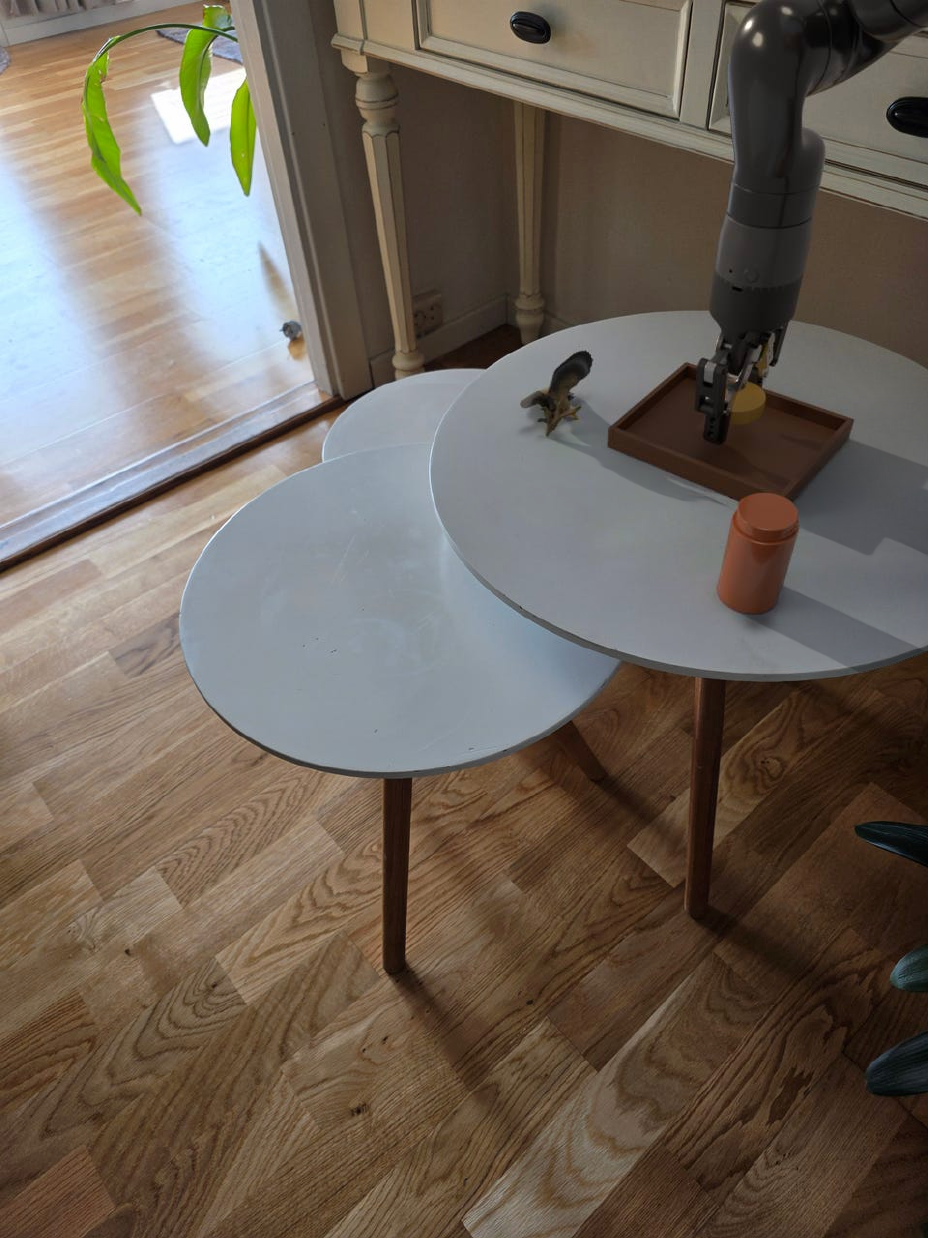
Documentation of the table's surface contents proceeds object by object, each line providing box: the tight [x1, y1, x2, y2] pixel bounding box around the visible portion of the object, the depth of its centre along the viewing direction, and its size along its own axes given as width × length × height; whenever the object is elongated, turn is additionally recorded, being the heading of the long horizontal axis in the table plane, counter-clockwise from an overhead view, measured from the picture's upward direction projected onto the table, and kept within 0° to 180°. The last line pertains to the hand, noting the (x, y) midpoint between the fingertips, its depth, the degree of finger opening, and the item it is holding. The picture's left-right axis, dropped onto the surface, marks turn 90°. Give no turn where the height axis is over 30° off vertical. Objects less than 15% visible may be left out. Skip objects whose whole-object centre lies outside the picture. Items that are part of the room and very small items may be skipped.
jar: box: [716, 493, 800, 615], centre depth 72 cm, size 5×5×9 cm
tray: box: [606, 361, 855, 503], centre depth 89 cm, size 19×15×2 cm
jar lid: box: [725, 378, 766, 425], centre depth 86 cm, size 6×6×2 cm
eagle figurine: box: [519, 350, 594, 437], centre depth 93 cm, size 8×7×9 cm
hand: (729, 425), depth 88 cm, fingers closed on jar lid, 5 cm apart
